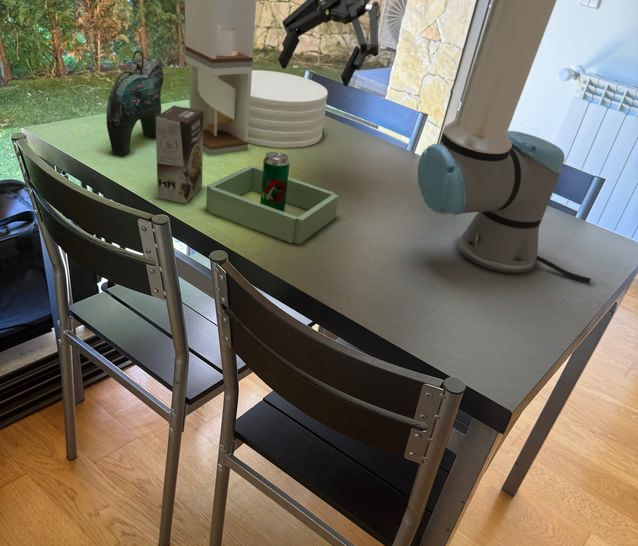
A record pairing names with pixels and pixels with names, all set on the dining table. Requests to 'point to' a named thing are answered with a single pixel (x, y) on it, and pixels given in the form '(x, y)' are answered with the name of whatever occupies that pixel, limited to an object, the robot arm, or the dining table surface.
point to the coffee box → (179, 153)
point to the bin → (265, 219)
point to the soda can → (275, 180)
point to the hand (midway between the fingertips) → (312, 72)
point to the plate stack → (285, 110)
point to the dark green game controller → (134, 104)
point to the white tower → (221, 69)
